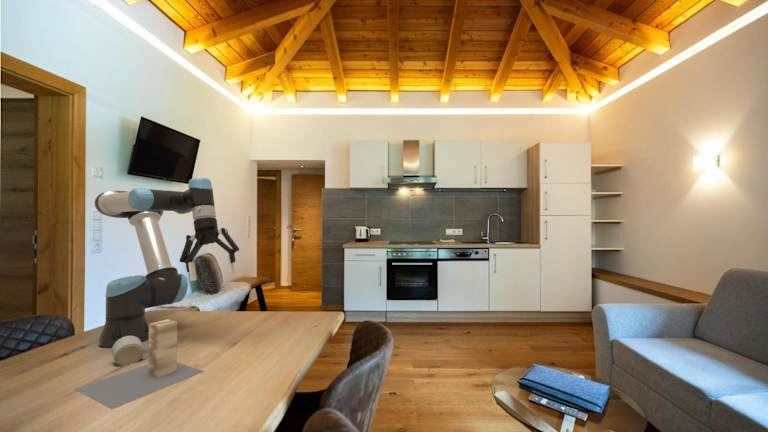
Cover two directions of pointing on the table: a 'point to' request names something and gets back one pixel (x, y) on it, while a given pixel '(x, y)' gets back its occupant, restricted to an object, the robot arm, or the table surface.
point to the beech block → (162, 348)
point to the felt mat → (133, 385)
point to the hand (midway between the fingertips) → (212, 276)
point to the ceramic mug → (128, 350)
